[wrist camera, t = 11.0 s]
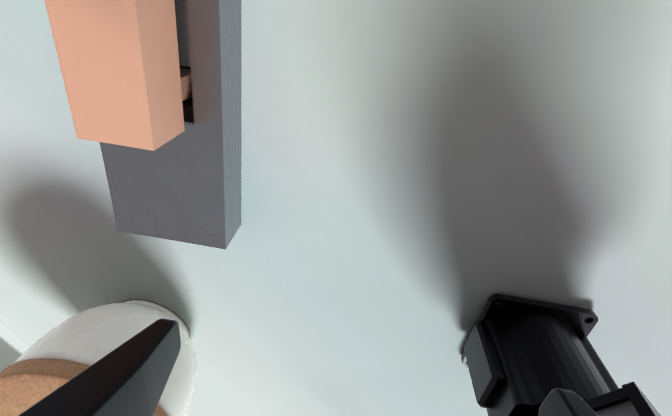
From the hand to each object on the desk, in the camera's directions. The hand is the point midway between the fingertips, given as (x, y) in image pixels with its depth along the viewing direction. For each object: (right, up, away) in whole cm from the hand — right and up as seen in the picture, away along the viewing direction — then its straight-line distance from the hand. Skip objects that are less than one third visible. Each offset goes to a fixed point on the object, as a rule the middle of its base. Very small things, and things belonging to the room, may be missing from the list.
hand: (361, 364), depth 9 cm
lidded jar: (-15, -5, +19) cm, 25 cm away
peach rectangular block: (-8, +13, +8) cm, 17 cm away
